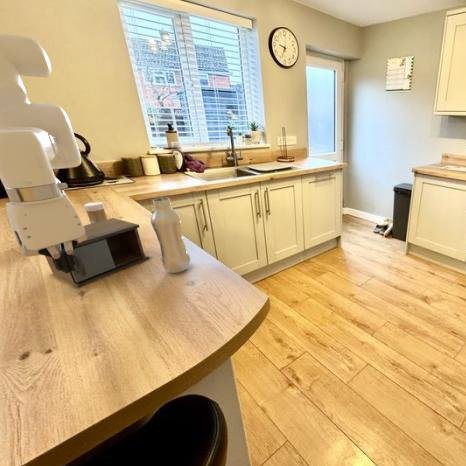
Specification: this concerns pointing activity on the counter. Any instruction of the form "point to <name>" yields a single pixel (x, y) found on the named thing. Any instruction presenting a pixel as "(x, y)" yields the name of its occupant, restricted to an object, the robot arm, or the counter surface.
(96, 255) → the sliding door
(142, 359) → the counter surface
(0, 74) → the robot arm
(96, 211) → the sprinkles bottle
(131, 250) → the cupboard
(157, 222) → the plastic bottle
